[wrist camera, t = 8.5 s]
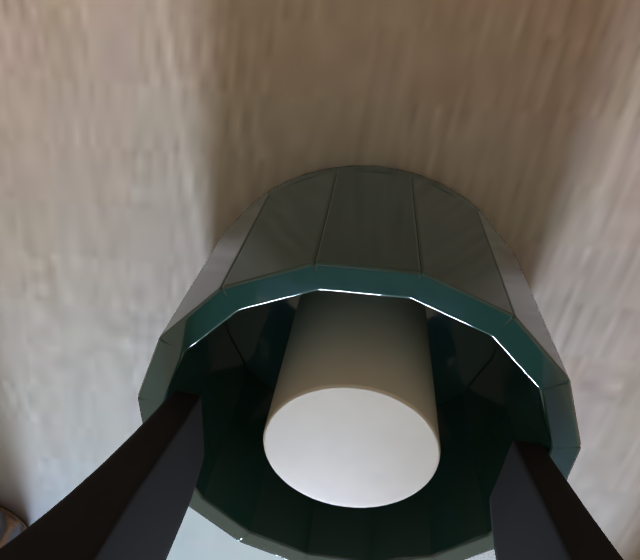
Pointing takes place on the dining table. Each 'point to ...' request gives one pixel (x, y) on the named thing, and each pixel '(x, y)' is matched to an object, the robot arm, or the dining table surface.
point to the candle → (355, 401)
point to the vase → (9, 526)
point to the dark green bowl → (371, 279)
